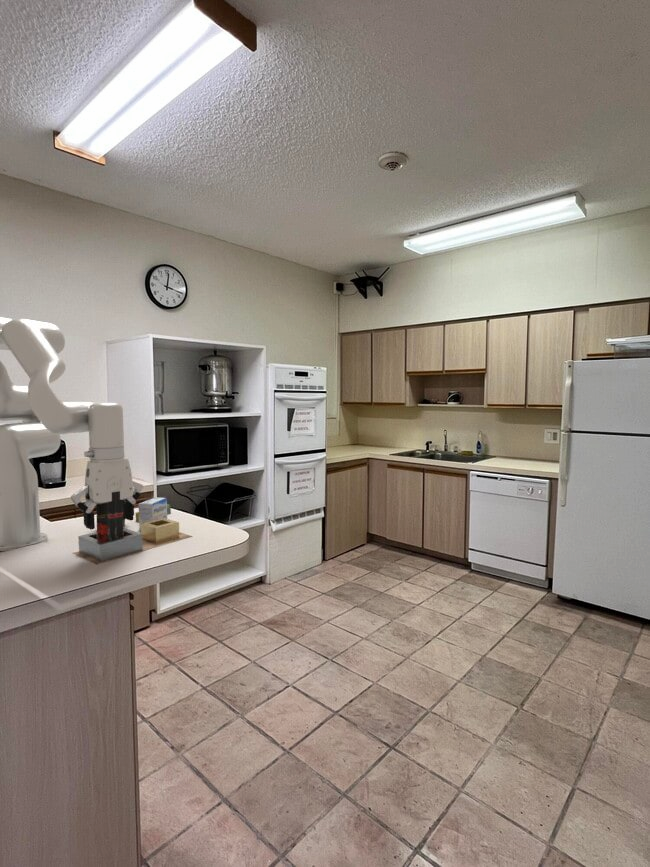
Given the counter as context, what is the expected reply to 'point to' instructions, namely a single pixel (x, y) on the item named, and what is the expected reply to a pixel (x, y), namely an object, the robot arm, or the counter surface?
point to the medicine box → (152, 510)
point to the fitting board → (146, 546)
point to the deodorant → (110, 519)
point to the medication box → (167, 512)
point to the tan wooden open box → (160, 530)
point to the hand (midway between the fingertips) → (110, 523)
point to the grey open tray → (110, 545)
